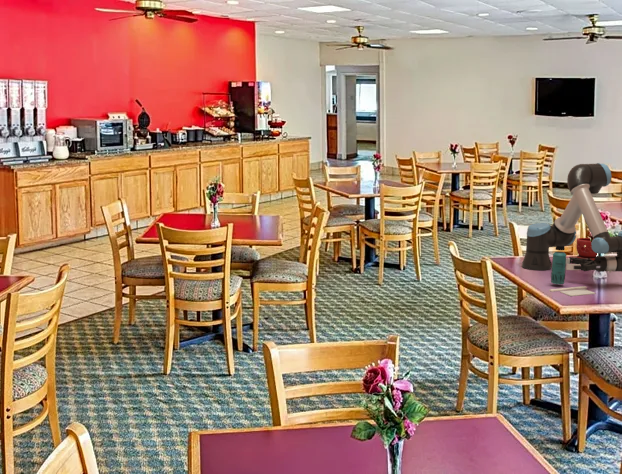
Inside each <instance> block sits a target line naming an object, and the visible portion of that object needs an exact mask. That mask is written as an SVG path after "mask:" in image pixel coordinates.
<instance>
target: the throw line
mask: <svg viewBox="0 0 622 474" xmlns="http://www.w3.org/2000/svg"><path fill="white" fill-rule="evenodd" d="M587 288H588V287H587V286H585V285H584V286H572V287H563V288H562V287H561V288H560V287H559V288H552V289H548V291H549V292H550V293H551V292H552V293H553V292H554V293H555V292H560V291H569V290H580V289H586V290H587Z"/></svg>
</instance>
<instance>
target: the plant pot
mask: <svg viewBox="0 0 622 474" xmlns="http://www.w3.org/2000/svg"><path fill="white" fill-rule="evenodd" d="M590 238H591V237H578V238H576V251H577V255H576V258H587V259H588V258H589V259H592V260H595V258H596V255H597V253H595V252H594V251H593V250H592V245H591V243H592V242H591V241H590Z"/></svg>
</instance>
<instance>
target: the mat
mask: <svg viewBox="0 0 622 474" xmlns="http://www.w3.org/2000/svg"><path fill="white" fill-rule="evenodd" d="M559 293H561V294H563V295H566V296H568V297H576V296H588V295H596V294H597V293H596V292H594V291H591V290H590V289H589V290H588V289H587V288H586V289H575V290H565V291H559Z"/></svg>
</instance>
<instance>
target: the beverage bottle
mask: <svg viewBox="0 0 622 474" xmlns="http://www.w3.org/2000/svg"><path fill="white" fill-rule="evenodd" d="M555 250H557V251H554V252H553V253H552V261H551V269H550V270H551V271H550V272H551V273H550V282H551V284H555V285H564V284H565V280H566V258H567V254H566V253H565V252H564V251H565V246H563V245H556V247H555Z"/></svg>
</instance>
